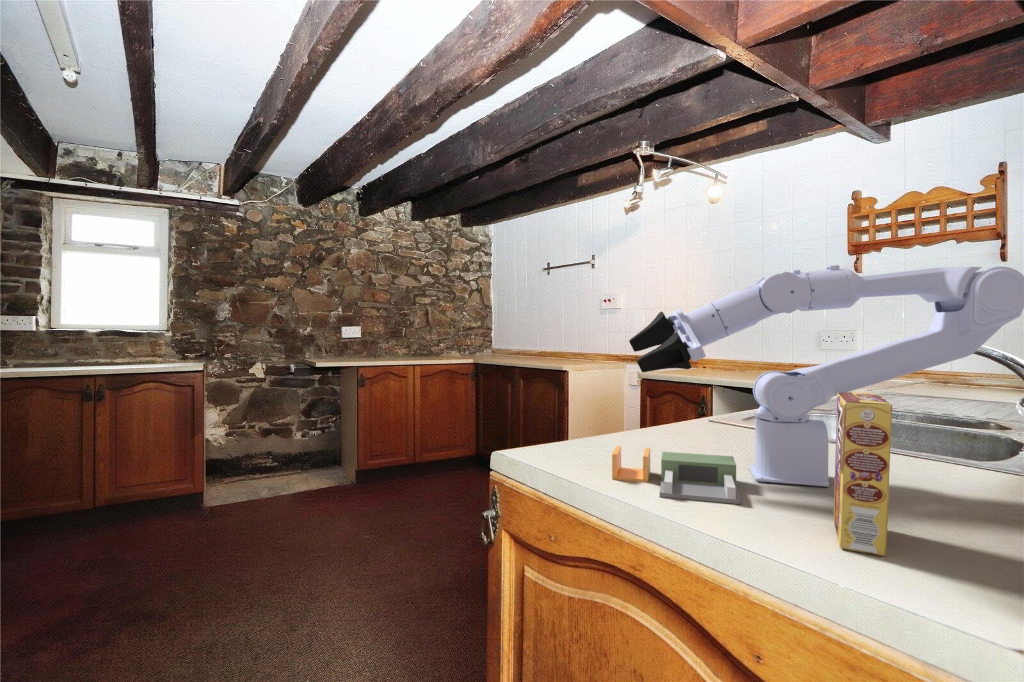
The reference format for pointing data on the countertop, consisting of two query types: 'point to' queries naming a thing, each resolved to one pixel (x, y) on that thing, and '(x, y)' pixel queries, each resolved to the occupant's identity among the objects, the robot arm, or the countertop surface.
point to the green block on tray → (699, 477)
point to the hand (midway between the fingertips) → (635, 355)
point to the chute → (630, 473)
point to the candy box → (862, 472)
